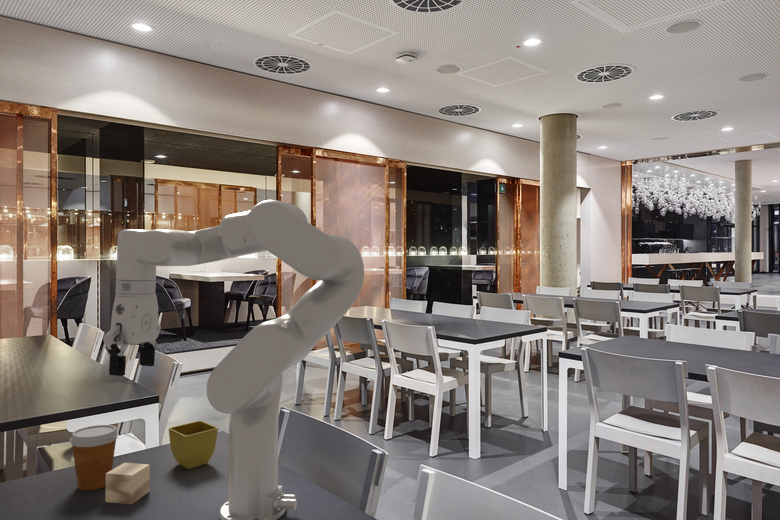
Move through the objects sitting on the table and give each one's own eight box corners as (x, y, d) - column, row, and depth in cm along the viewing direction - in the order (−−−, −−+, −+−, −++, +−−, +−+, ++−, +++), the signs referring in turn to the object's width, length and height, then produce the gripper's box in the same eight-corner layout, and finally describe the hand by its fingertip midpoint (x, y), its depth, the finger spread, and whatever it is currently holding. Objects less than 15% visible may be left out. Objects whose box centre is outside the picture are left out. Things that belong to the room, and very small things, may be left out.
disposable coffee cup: (59, 488, 117) (60, 433, 117) (101, 473, 125) (101, 421, 125) (86, 497, 112) (87, 440, 112) (127, 481, 121) (128, 428, 121)
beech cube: (149, 492, 115) (149, 464, 115) (131, 504, 110) (131, 475, 110) (124, 490, 116) (124, 462, 116) (105, 502, 111) (105, 473, 111)
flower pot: (218, 463, 131) (219, 427, 131) (185, 474, 125) (185, 436, 125) (200, 455, 137) (200, 420, 137) (167, 464, 131) (167, 428, 131)
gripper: (125, 292, 102) (121, 381, 103) (175, 287, 120) (172, 363, 120) (90, 290, 104) (86, 377, 104) (144, 285, 121) (141, 361, 121)
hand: (132, 370), depth 112 cm, fingers open, 9 cm apart
